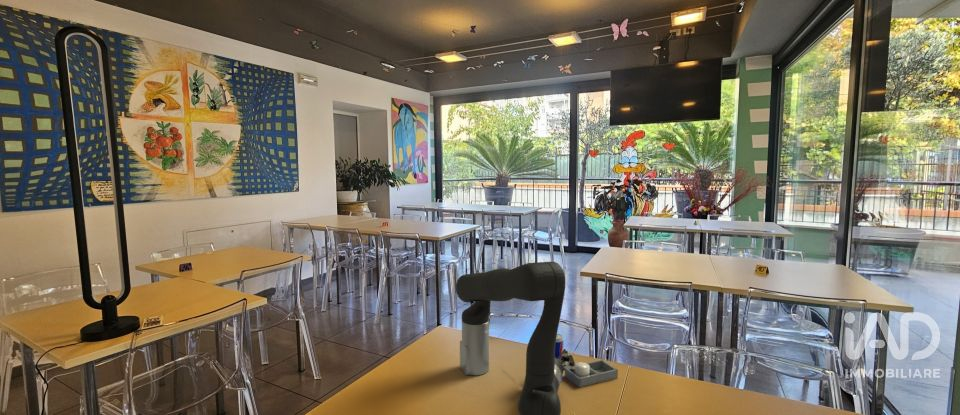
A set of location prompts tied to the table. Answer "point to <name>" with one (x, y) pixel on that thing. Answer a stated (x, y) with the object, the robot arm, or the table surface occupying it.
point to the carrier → (594, 374)
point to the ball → (582, 369)
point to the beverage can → (559, 346)
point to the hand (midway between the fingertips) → (555, 350)
